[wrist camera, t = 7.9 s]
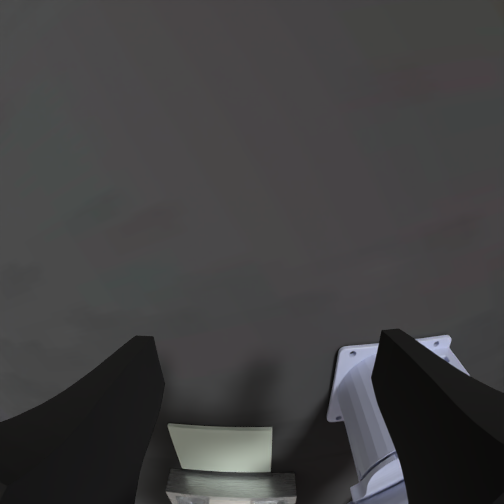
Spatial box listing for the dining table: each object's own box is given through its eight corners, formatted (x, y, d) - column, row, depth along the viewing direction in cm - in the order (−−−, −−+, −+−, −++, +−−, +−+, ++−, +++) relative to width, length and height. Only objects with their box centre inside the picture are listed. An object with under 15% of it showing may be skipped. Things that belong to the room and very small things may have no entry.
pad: (272, 426, 24) (272, 430, 24) (270, 469, 27) (270, 471, 26) (168, 423, 24) (167, 426, 24) (182, 465, 27) (182, 468, 26)
